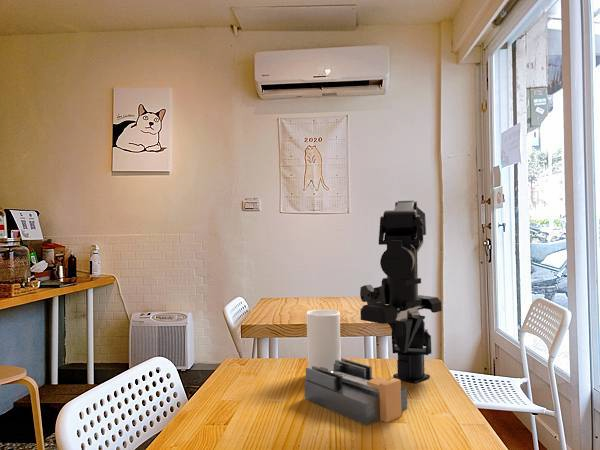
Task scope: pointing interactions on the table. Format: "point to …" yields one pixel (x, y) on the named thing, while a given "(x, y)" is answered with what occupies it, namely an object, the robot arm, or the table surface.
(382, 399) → the tan piece
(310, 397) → the slotted grey stand
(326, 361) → the cup
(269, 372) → the table surface
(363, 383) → the strap
